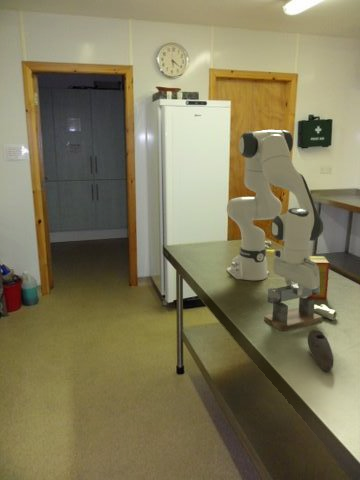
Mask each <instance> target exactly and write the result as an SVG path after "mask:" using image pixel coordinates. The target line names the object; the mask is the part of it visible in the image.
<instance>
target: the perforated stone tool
mask: <svg viewBox="0 0 360 480" xmlns="http://www.w3.org/2000/svg"><path fill="white" fill-rule="evenodd" d="M307 345H308V346H307V347H308V350H309V352H310V354H311V355H312V356H311V357H313V359H314V361H315V362H316V363H317V364H318V366H319V367H320V368H321V369H322V370H323V371H324V372H325V373H329V372H331V371H332V369H333V367H334V354H333V351H332V347H331V344H330V342H329V341H328V339H327V337H326V336H325V334H324V333H323V331H321V330H317V329H313V330H311V331H309V333H308V336H307Z"/></svg>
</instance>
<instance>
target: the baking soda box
mask: <svg viewBox="0 0 360 480" xmlns="http://www.w3.org/2000/svg"><path fill="white" fill-rule="evenodd" d="M309 260H310V261H314V262H315V263H316V264H317V266H318V269H319V278H320V292H319V294H318V295H310V296H308V297H310V298H312V299H314V300H327V298H328V287H329V286H328V283H329V272H330V262H329V261H328V260H327V258H326V257H325V256H323V255H310V259H309Z"/></svg>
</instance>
